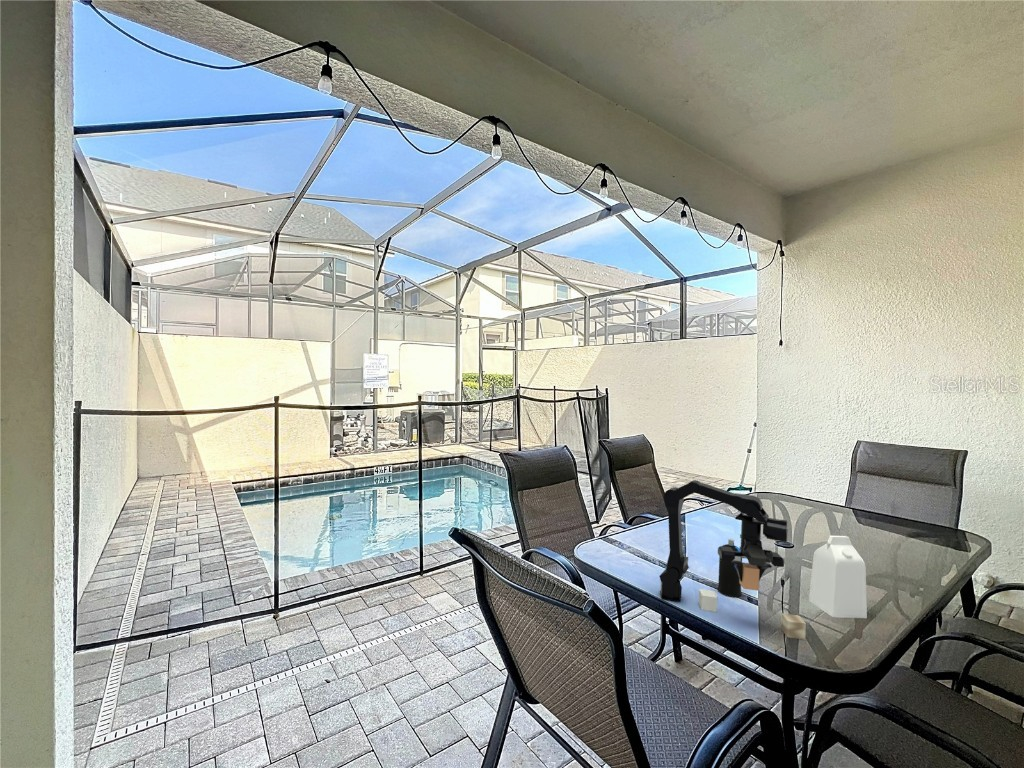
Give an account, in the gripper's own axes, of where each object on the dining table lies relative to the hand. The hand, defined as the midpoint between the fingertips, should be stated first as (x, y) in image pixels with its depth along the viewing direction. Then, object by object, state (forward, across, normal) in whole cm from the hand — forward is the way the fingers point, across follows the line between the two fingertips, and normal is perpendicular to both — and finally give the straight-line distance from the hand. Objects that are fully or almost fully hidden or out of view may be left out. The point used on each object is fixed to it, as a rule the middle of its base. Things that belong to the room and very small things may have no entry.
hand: (748, 582), depth 142 cm
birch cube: (+13, +12, -4) cm, 18 cm away
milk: (+13, +35, +19) cm, 42 cm away
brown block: (+2, 0, 0) cm, 2 cm away
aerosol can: (+13, 0, +21) cm, 25 cm away
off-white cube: (+13, -11, +6) cm, 18 cm away
